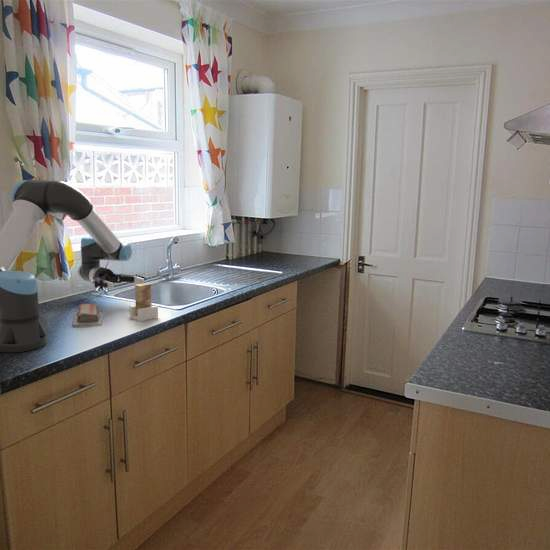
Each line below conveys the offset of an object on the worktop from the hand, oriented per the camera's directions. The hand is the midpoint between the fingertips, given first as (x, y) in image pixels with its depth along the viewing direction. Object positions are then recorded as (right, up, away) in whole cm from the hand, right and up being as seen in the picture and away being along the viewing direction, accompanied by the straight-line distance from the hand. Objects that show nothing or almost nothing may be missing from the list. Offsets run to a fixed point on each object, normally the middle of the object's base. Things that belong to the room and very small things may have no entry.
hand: (128, 284), depth 206 cm
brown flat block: (-13, -14, -9) cm, 21 cm away
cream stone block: (+7, -13, -5) cm, 16 cm away
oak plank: (+7, -12, -5) cm, 15 cm away
